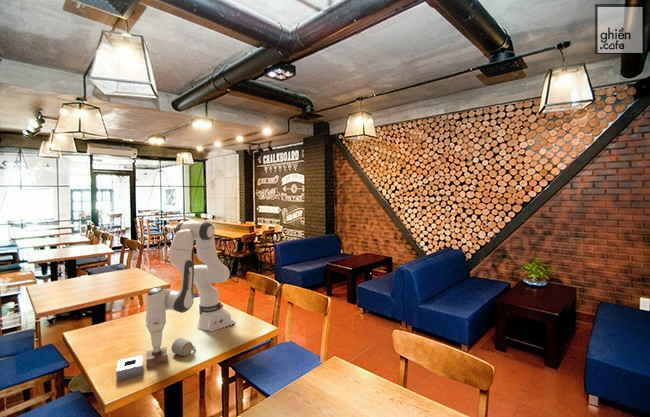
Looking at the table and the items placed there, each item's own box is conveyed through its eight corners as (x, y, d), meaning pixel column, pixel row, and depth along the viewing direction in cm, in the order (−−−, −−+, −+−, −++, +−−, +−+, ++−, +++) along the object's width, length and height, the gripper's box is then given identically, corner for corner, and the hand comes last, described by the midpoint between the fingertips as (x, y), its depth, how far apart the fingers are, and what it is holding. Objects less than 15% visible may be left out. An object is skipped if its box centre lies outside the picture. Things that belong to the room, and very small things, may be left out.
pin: (161, 357, 156) (160, 338, 156) (161, 361, 153) (160, 341, 152) (152, 359, 154) (152, 340, 154) (152, 363, 151) (152, 343, 150)
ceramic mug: (182, 359, 155) (182, 344, 155) (171, 355, 158) (171, 341, 158) (198, 350, 165) (198, 336, 164) (187, 346, 168) (187, 333, 168)
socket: (142, 364, 150) (142, 355, 149) (142, 375, 141) (142, 365, 141) (118, 370, 145) (118, 360, 144) (116, 382, 136) (116, 371, 136)
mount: (166, 354, 160) (166, 346, 159) (167, 362, 152) (167, 354, 152) (146, 358, 155) (146, 351, 155) (146, 367, 147) (146, 359, 147)
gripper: (148, 314, 160) (149, 340, 161) (148, 330, 142) (149, 359, 143) (162, 312, 163) (162, 337, 164) (163, 327, 145) (164, 355, 146)
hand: (156, 347), depth 153 cm, fingers open, 5 cm apart
